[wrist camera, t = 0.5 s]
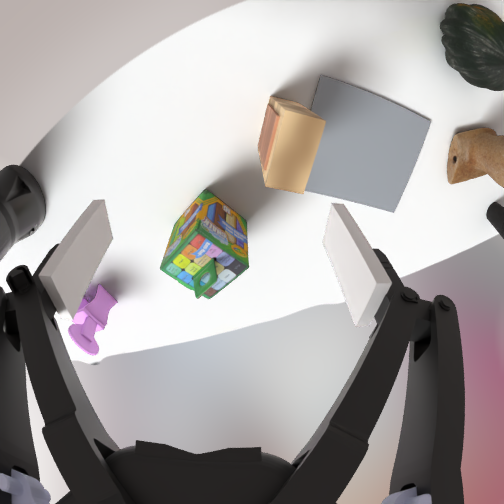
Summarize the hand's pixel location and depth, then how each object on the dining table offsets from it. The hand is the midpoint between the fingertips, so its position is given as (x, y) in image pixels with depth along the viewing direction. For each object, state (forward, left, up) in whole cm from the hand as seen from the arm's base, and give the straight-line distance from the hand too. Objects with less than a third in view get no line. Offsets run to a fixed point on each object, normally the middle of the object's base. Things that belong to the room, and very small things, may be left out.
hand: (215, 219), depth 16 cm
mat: (+20, +1, -26) cm, 33 cm away
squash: (+32, +27, -27) cm, 50 cm away
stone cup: (+42, +10, -27) cm, 51 cm away
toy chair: (-25, -41, -27) cm, 54 cm away
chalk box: (-1, -17, -27) cm, 31 cm away
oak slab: (+6, +1, -26) cm, 27 cm away
